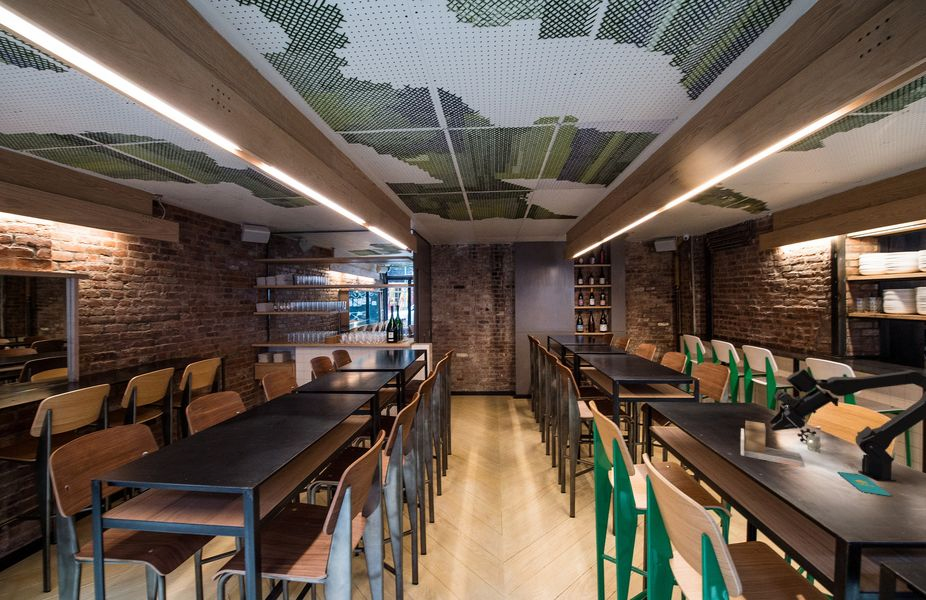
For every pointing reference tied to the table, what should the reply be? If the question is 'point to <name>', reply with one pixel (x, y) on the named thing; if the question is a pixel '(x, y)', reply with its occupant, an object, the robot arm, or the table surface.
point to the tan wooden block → (755, 437)
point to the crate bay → (776, 451)
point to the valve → (811, 440)
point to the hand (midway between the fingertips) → (771, 426)
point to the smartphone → (863, 484)
